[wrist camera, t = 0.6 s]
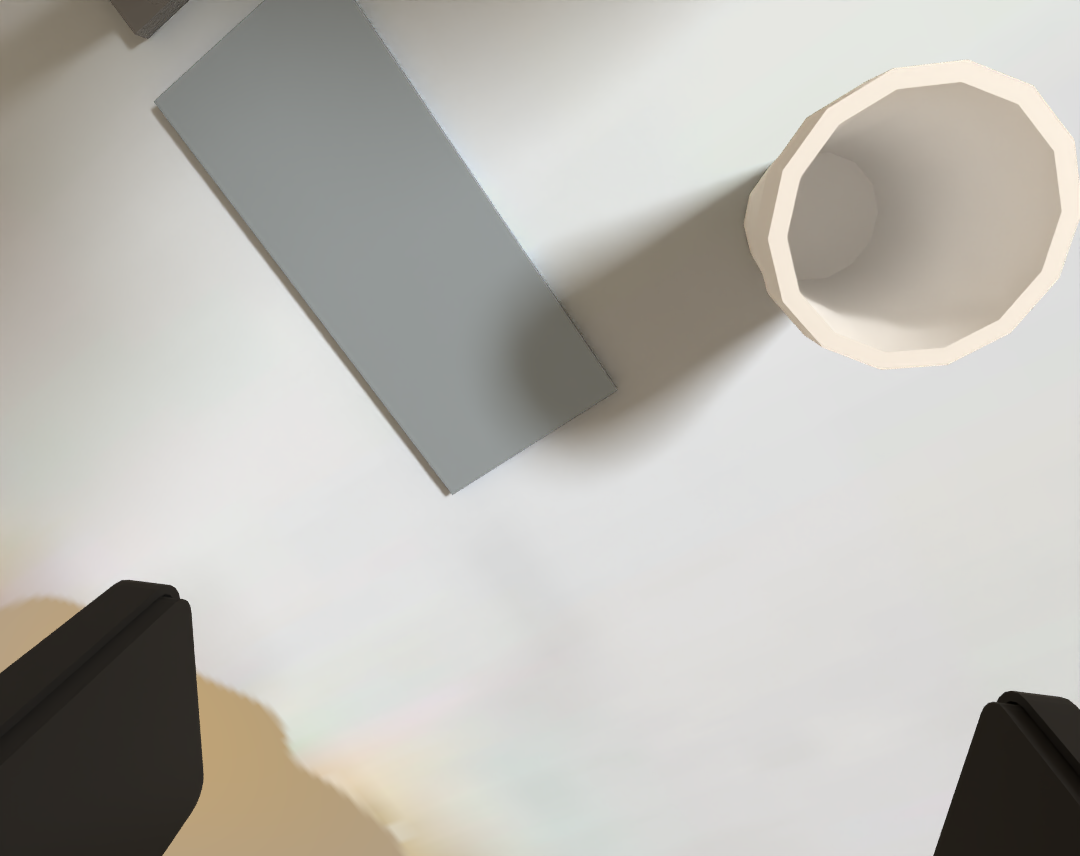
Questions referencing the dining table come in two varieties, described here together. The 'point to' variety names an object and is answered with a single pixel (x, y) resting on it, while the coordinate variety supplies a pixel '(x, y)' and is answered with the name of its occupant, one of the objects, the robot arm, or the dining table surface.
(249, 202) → the slate mat
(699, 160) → the dining table surface
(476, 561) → the dining table surface
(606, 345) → the dining table surface
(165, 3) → the cradle stands
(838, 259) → the foam cup
